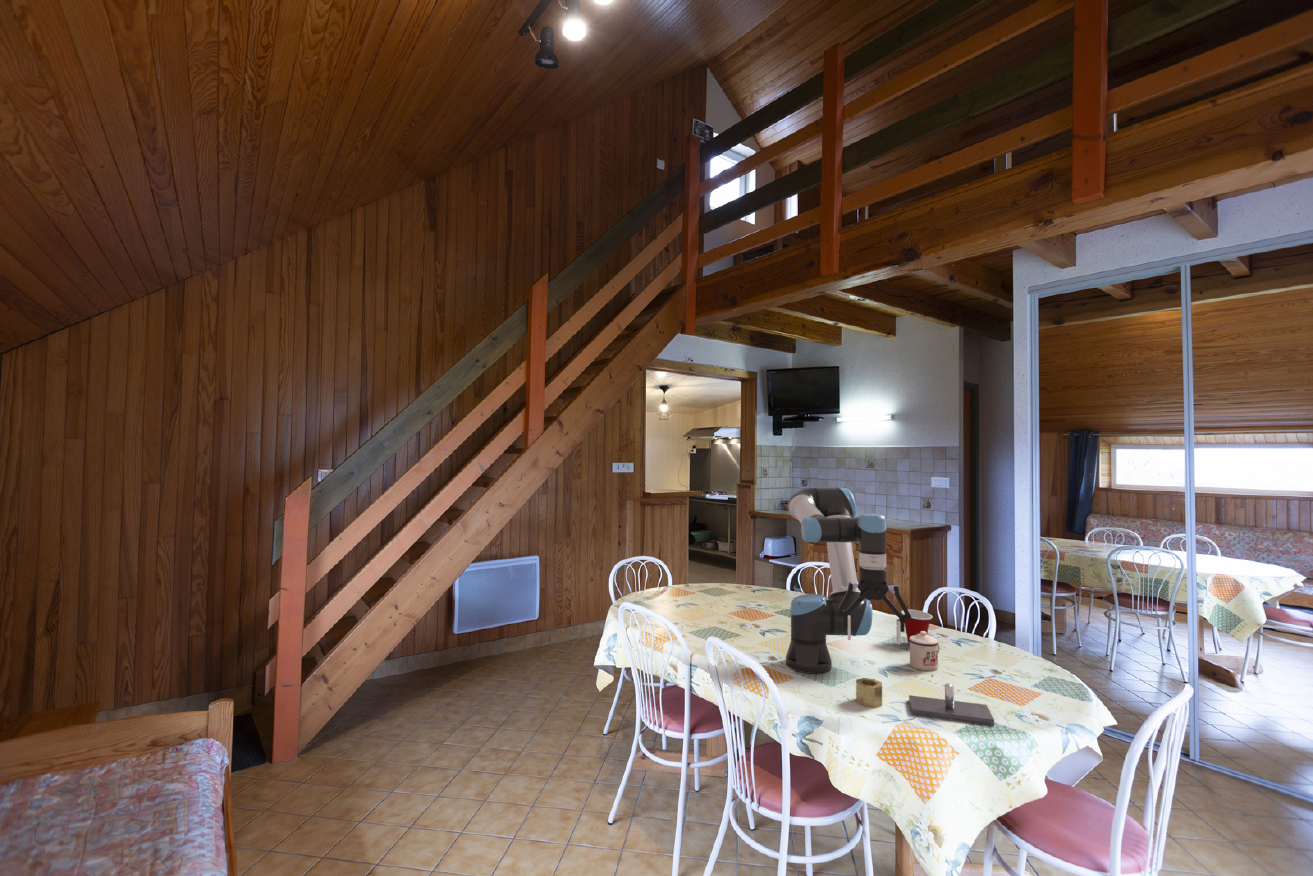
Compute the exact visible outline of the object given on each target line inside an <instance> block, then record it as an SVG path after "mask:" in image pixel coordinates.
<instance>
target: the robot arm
mask: <svg viewBox="0 0 1313 876" xmlns="http://www.w3.org/2000/svg"><path fill="white" fill-rule="evenodd" d="M856 504H857V503H856V501H855V497H854V495H853V492H851V490H850V489H848V488H845V487H836V486H835V487H805V488H801V489H799V490H797V491H795V492H794V493H793V494H792V495H791V496H790V497H789V499H788V501H787V510H788V512H789V514H790V515H791V517H792V518H794V519H795V520H798V521H799V523H800V525H801V526H800V533H801V537H802V540H803V541H804V542H807V543H808V542H809V543H814V544H815V543H826V548H827V555H828V564H829V571H830V580H831V589H832V591H831V592H830V593H829V595H828V598H829V599H827V598H826V596H825V595H824V594H820V593H806V594H801V595H798V596H795V597H793V598H792V600H791V602H790V610H789V614H790V643H789V647H788V649H787V651H786V652H787V653H786V655H785V665H786V666H787V667H788V668H789V669H791V670H794V671H797V672H800V673H806V674H821V673H823V674H824V673H827V672H828V671H831V670H832V668H833V667H832V665H833V663H832V662H833V661H832V658H831V655H830V652H829V649H828V646H827V636H847V640H848V641H851V637H857V636H860V637H861V636H866V635H868V634H869V632H870V630H871V628H872V624H873V614H874V613H873V605H872V602H871V601H873V600H875V601H881V600H882V601H884V603H885V605H887V606H888V608H889V609H891V610H892V612H893V613H894V614H895V615H896V616H897V618H896V643H897V645H901V644H902V643H901V642H902V640H901V634H902V633H904V632H905V631H906V629H905V623H904V622H905V620H907V619H911V615H910V613H909V611H908V610H909V608H908V607H907V606H906V604H905V602H904V600H903V599H902V597H901V594H900V591H899V590H900V589H899V587H898V584H892V585H888V579H887V575H888V574H887V573H888V572H887V569H886V568H887V523H886V517H885V515H883V514H878V513H877V514H876V513H863V514H860V515H859V516H856V515H857V505H856ZM852 543H858V561H859V562H858V564H859V566H860V567H859V569H858V571H859V572H858V573H859V575H858V576H859V582H858V578H857V571H856V566H855V559H854V553H853V552H854V551H853V544H852ZM889 591H890V593H892V594H893V595H894V596H895V599H896V600H897V602H898V603H899V605H900V607H901V609H902V611H904V613H905V614H902V612H900V611H899V609H898V608H897V607H896V606H895V605H894V603H893V602H892V601H891V600H890V599H889V598H888V596H887V595H886V594H887V593H888V592H889Z"/></svg>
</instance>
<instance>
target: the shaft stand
mask: <svg viewBox="0 0 1313 876" xmlns="http://www.w3.org/2000/svg"><path fill="white" fill-rule="evenodd" d="M954 687H955V685H954V684H952V683H944V699H943V698H934V697H926V696H919V695H911V694H909V695H908V702H909V706H910V712H911V715H912V716H913V715H914V716H919V715H920V717H928V718H935V719H943V720H950V721H957V722H958V721H959V722H964V723H965V722H966V723H973V724H978V725H979V724H980V725H987V726H988V725H989V726H995V719H994V717H993V715H992V712H991V711H990V709H989V707H988V705H987V704H984V703H975V702H967V701H960V700H955V698H954V695H955V691H954V689H955V688H954Z"/></svg>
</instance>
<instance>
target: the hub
mask: <svg viewBox="0 0 1313 876" xmlns="http://www.w3.org/2000/svg"><path fill="white" fill-rule="evenodd" d="M855 685H856V686H855V688H856V689H855V697H856V699H855V700H856V701H855V702H856V703H857V704H859V705H860V706H863V707H868V708H879V707H883V683H882V682H881V681H879V680H877V679H875V678H867V677H862V678H857V679H855Z"/></svg>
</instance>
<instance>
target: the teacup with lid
mask: <svg viewBox="0 0 1313 876" xmlns="http://www.w3.org/2000/svg"><path fill="white" fill-rule="evenodd" d="M909 641H910V645H909V665H910V666H911V667H913V669H917V670H921V671H927V672H928V671H929V672H930V671H935V670H937V669H938V668H939V659H938V658H939V653H940V644H939V640H938V639H936V638H935V637H932V636H931V635H929V634H927V633H926V632H925V631H921V632H920V634H917V635H914V636H911V637H910V638H909Z"/></svg>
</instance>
